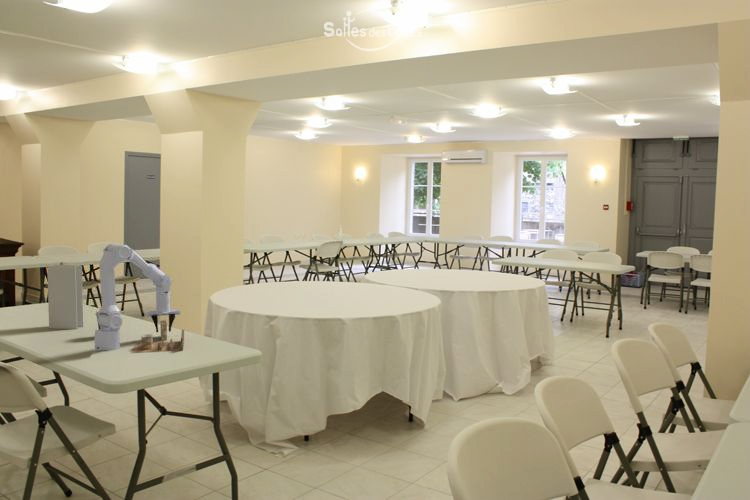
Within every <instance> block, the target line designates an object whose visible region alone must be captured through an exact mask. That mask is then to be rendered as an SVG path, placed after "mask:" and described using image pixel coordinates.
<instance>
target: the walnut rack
mask: <svg viewBox="0 0 750 500" xmlns="http://www.w3.org/2000/svg"><path fill="white" fill-rule="evenodd" d="M184 345H185V329H181V334H180V340H179V341H178V340H177V341H176V340H175V341H174V340H173V338H170V339H169V341H164V339H163V340H162V339H161V341H156V342H155V341H153V346H152V349H142V350H141V342H135V343H134V345H133V347H132V350H130V351H131V352H130V354H142V353H145V354H146V353H162V352H163V353H165V352H183V351H184V347H185V346H184Z"/></svg>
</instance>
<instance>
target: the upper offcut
mask: <svg viewBox="0 0 750 500" xmlns="http://www.w3.org/2000/svg"><path fill="white" fill-rule="evenodd" d="M153 338H154V336H153V334H150V333H149V334H146V333H145V334H142V335H141V338H140V341H141V342H140V343H152V340H153V341H154V339H153Z"/></svg>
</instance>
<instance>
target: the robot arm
mask: <svg viewBox="0 0 750 500" xmlns="http://www.w3.org/2000/svg"><path fill="white" fill-rule="evenodd" d="M102 252H103V254H102V256H101V259H100V261H99V276H100V277H99V281H100V293H101V296H100V297H101V306H100V308H99V309H98V310H99V315H98V318H97V317H96V322H97V325H98V324H99V325H100V330H99V329H95V331H94V351H114V350H118V349H120V348H121V346H120V345H121V344H120V343H121V341H120V339H121V338H120V329H121V327H122V326H123V317H122V315H121V310H120V309H119V307H118V306H117V295H116V293H117V292H116V279H115V269H116V267H117V266H118V265H119V264H120V263H122V262H125V261H126V260H128V261H130V262H131V263H132V264H133V265H135V266H137V267H138V268H140V269H141V270H142V275H144V276H145V277H146V278H148V279H149V280H150V281H152V284H153V286H154V287H155V293H156V294H155V297H156V299H155V300H156V302H155V305H156V307H155V308H156V309H155V310H149V311H145V317H146V318H148V317H151V319H152V322H153V323H154V326H155V332H156V333H159V327H158V326H159V325H158V323H159V321H158V319H159V318H158V316H159V317H160V316H168V332H171V330H172V326H173V323H174V321H175V318H176V315H178V316H179V315H181V310H180V309H171V301H170V300H171V298H170V297H171V287H172V285H173V280H172V278H171V276H170V275H168V274H165V272H164V271H163V270H161V269H160V268H158V267H157V266H158V265H156V263H147V261H145V260H144V259H143V258H142V257H141V256H140V255H139V254H138V253H137V252H136V251H134V249H133V248H131V247H130V246H128V245H127V244H117V243H116V244H115V243H109V244H108V245H107V246H106V247H104V249H103V251H102Z"/></svg>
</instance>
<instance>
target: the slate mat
mask: <svg viewBox="0 0 750 500" xmlns="http://www.w3.org/2000/svg"><path fill="white" fill-rule="evenodd" d="M168 337H169V335H167V338H168ZM176 337H179V334H177V335H176ZM153 338H161V335H158V336H153Z"/></svg>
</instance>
